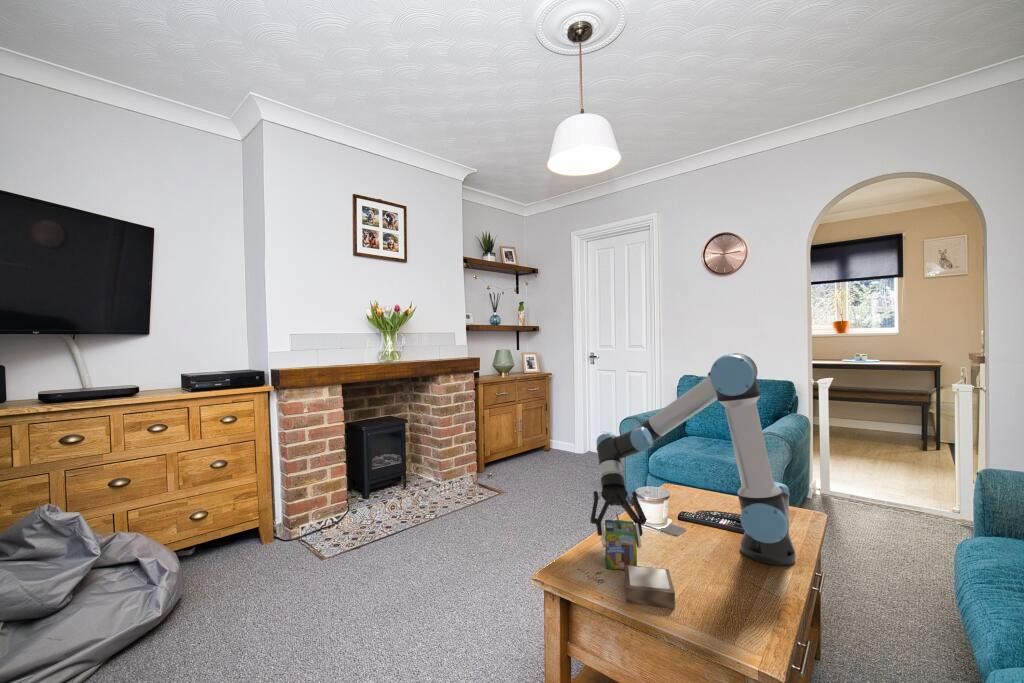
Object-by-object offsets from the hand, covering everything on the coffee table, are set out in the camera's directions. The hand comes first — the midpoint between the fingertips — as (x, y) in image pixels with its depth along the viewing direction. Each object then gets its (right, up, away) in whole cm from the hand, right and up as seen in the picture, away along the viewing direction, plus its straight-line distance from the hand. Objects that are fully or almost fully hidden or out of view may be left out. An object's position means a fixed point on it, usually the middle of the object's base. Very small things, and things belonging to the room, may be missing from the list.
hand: (621, 546), depth 134 cm
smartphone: (+22, -7, +29) cm, 37 cm away
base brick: (+4, -7, -13) cm, 15 cm away
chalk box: (0, -7, +3) cm, 7 cm away
